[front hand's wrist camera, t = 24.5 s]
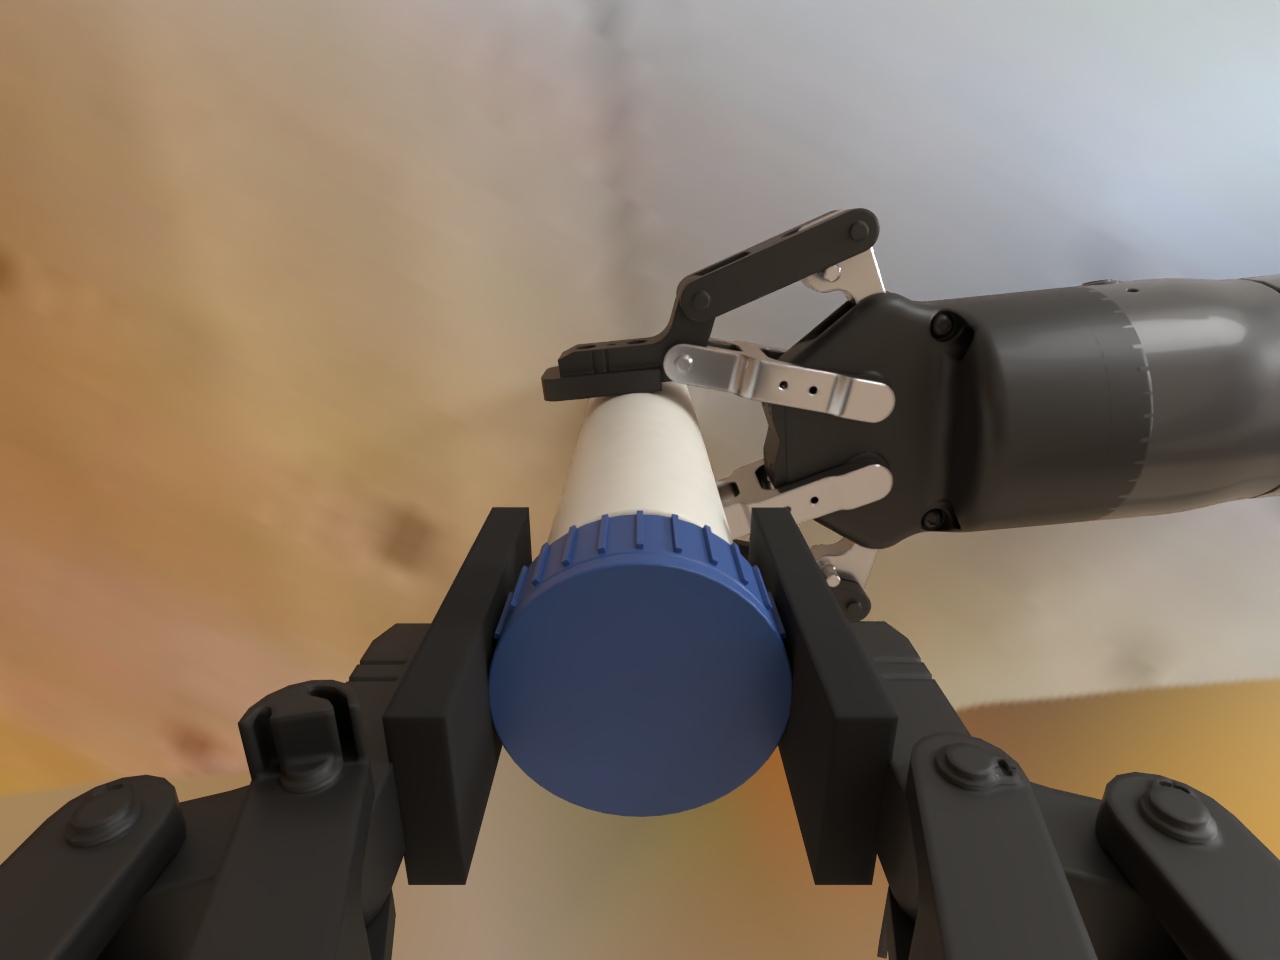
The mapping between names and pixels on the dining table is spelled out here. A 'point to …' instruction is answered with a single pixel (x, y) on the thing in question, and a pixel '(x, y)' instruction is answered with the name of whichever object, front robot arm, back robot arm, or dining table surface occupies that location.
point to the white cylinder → (640, 463)
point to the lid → (640, 667)
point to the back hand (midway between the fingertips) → (558, 454)
